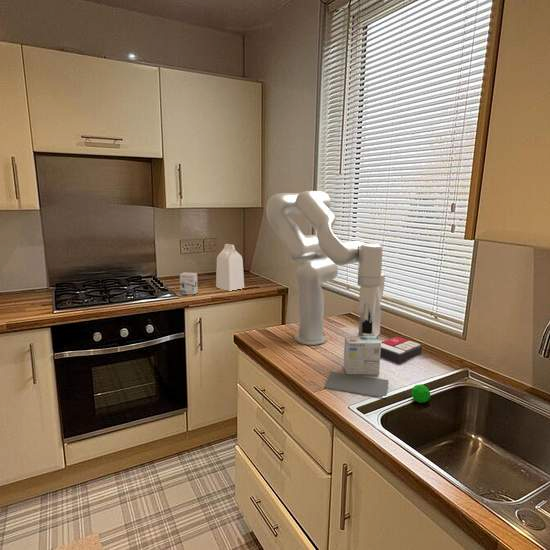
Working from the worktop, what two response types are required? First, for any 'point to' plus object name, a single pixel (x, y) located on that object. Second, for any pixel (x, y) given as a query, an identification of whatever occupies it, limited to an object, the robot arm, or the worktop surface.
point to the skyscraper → (375, 312)
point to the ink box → (188, 283)
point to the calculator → (399, 349)
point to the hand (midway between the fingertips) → (367, 332)
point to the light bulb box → (362, 355)
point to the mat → (357, 384)
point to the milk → (229, 269)
